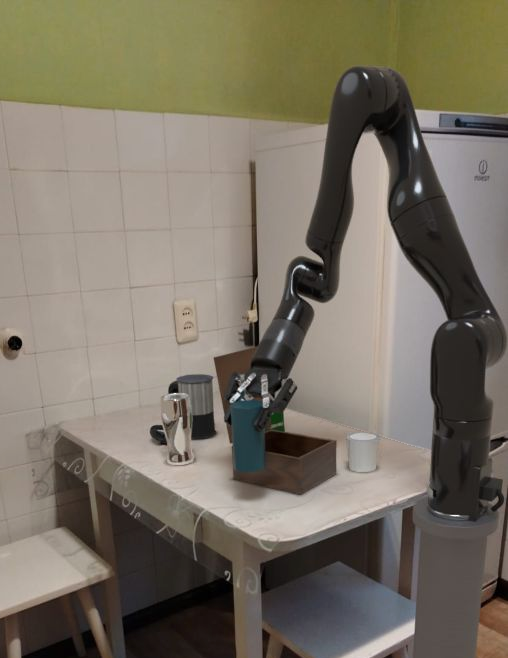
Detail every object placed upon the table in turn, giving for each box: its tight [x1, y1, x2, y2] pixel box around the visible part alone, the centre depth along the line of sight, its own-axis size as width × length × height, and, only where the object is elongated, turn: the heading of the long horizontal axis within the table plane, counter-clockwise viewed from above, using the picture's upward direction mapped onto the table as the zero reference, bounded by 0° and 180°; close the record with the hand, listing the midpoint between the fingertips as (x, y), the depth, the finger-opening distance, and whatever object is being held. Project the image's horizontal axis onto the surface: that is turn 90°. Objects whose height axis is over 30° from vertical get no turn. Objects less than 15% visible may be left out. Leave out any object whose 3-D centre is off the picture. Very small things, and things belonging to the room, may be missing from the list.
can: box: [230, 400, 266, 472], centre depth 117 cm, size 6×6×12 cm
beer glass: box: [159, 393, 195, 466], centre depth 143 cm, size 7×7×15 cm
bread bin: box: [231, 429, 337, 496], centre depth 132 cm, size 17×14×7 cm
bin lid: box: [213, 345, 272, 444], centre depth 133 cm, size 18×14×1 cm
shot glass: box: [346, 431, 381, 473], centre depth 135 cm, size 7×7×7 cm
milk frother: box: [149, 373, 217, 444], centre depth 160 cm, size 14×16×15 cm
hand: (242, 426), depth 115 cm, fingers closed on can, 6 cm apart
